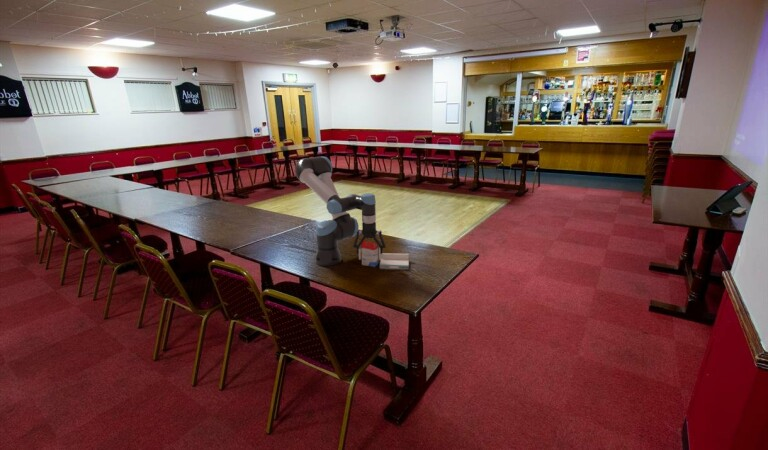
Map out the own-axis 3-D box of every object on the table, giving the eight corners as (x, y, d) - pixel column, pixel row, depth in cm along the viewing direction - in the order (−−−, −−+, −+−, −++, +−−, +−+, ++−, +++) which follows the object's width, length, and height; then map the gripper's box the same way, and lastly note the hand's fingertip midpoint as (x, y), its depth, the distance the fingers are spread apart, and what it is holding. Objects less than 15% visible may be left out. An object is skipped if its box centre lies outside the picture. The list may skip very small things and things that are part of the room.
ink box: (378, 264, 207) (378, 240, 203) (374, 267, 203) (374, 242, 199) (365, 261, 211) (364, 238, 206) (361, 264, 207) (360, 240, 202)
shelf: (379, 269, 201) (379, 261, 199) (381, 260, 212) (381, 253, 211) (408, 269, 200) (408, 262, 198) (408, 260, 211) (408, 253, 210)
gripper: (346, 223, 196) (348, 261, 203) (389, 224, 195) (389, 261, 201) (349, 219, 204) (350, 255, 210) (390, 220, 202) (390, 256, 209)
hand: (369, 258), depth 206 cm, fingers open, 11 cm apart
